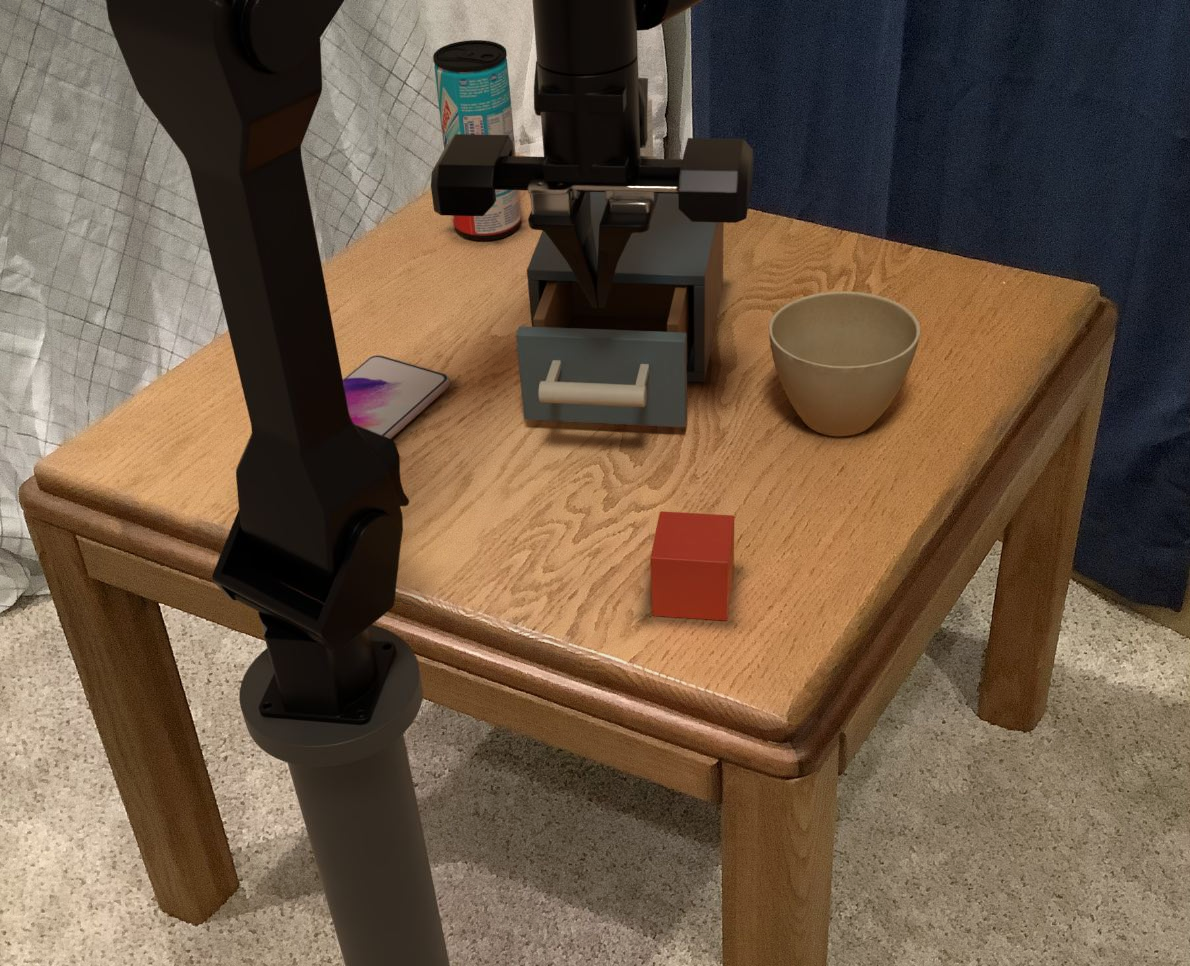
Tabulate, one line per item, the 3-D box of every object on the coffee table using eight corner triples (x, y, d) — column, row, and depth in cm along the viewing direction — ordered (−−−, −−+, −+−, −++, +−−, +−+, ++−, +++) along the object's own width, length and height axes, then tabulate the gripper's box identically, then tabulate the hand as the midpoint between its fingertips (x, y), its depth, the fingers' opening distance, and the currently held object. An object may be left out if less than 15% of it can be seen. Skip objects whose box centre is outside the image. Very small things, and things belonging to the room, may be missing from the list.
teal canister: (481, 206, 127) (463, 35, 117) (535, 221, 125) (521, 46, 115) (440, 233, 124) (417, 59, 114) (494, 249, 121) (476, 72, 111)
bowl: (861, 365, 105) (869, 277, 100) (937, 434, 98) (950, 342, 93) (740, 400, 102) (742, 311, 97) (810, 473, 95) (816, 381, 90)
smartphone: (453, 375, 105) (331, 484, 95) (454, 385, 105) (333, 494, 96) (373, 352, 108) (246, 456, 98) (375, 361, 108) (249, 466, 99)
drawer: (678, 463, 95) (677, 375, 91) (511, 454, 97) (502, 368, 92) (705, 327, 108) (705, 245, 104) (557, 322, 110) (551, 240, 105)
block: (727, 621, 85) (728, 562, 82) (651, 616, 85) (650, 557, 82) (733, 572, 88) (734, 514, 85) (661, 568, 89) (659, 510, 86)
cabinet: (704, 382, 104) (705, 275, 98) (535, 375, 106) (526, 269, 100) (722, 284, 115) (724, 182, 109) (569, 279, 117) (562, 179, 111)
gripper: (762, 7, 85) (755, 249, 95) (457, 6, 87) (483, 241, 98) (749, 79, 77) (742, 335, 87) (413, 76, 79) (446, 324, 90)
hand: (599, 304), depth 91 cm, fingers closed
